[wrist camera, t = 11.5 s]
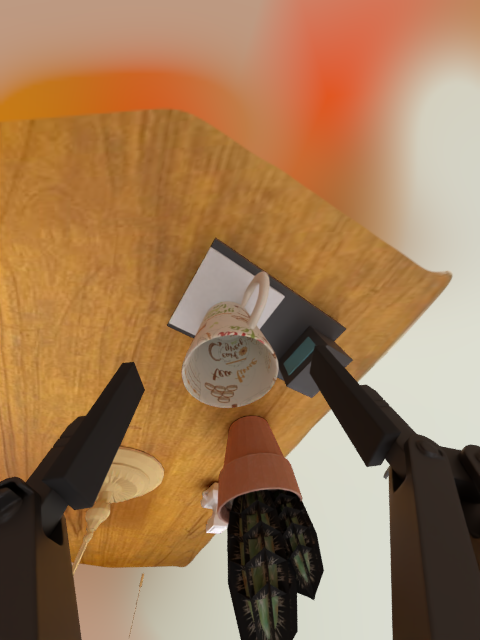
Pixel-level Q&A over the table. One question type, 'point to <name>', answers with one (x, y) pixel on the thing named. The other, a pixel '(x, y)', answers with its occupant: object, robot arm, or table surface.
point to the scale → (276, 320)
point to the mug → (231, 353)
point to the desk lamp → (122, 488)
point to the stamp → (211, 502)
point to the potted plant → (265, 534)
